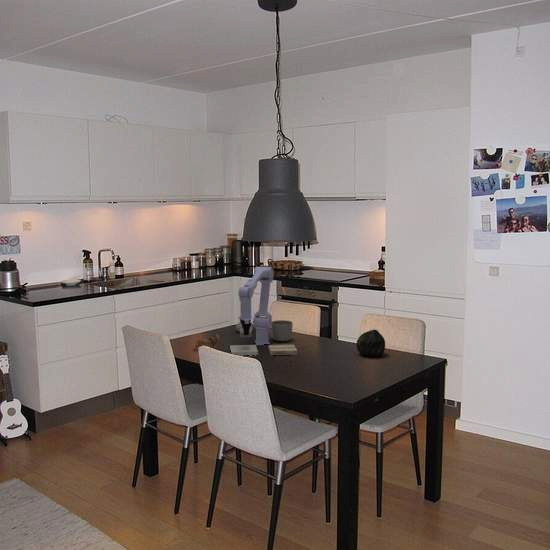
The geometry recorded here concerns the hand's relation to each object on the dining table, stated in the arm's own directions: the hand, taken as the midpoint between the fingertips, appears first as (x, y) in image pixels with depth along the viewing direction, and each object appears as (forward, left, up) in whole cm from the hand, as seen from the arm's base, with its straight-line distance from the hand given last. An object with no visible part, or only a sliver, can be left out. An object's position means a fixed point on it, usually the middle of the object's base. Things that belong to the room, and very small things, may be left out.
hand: (246, 334), depth 325 cm
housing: (0, 0, -1) cm, 1 cm away
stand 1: (0, -1, -10) cm, 10 cm away
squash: (+12, +66, -11) cm, 68 cm away
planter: (-25, +23, -11) cm, 35 cm away
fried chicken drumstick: (-7, -21, -11) cm, 24 cm away
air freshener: (-50, +3, -11) cm, 51 cm away
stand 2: (+1, +20, -10) cm, 22 cm away
